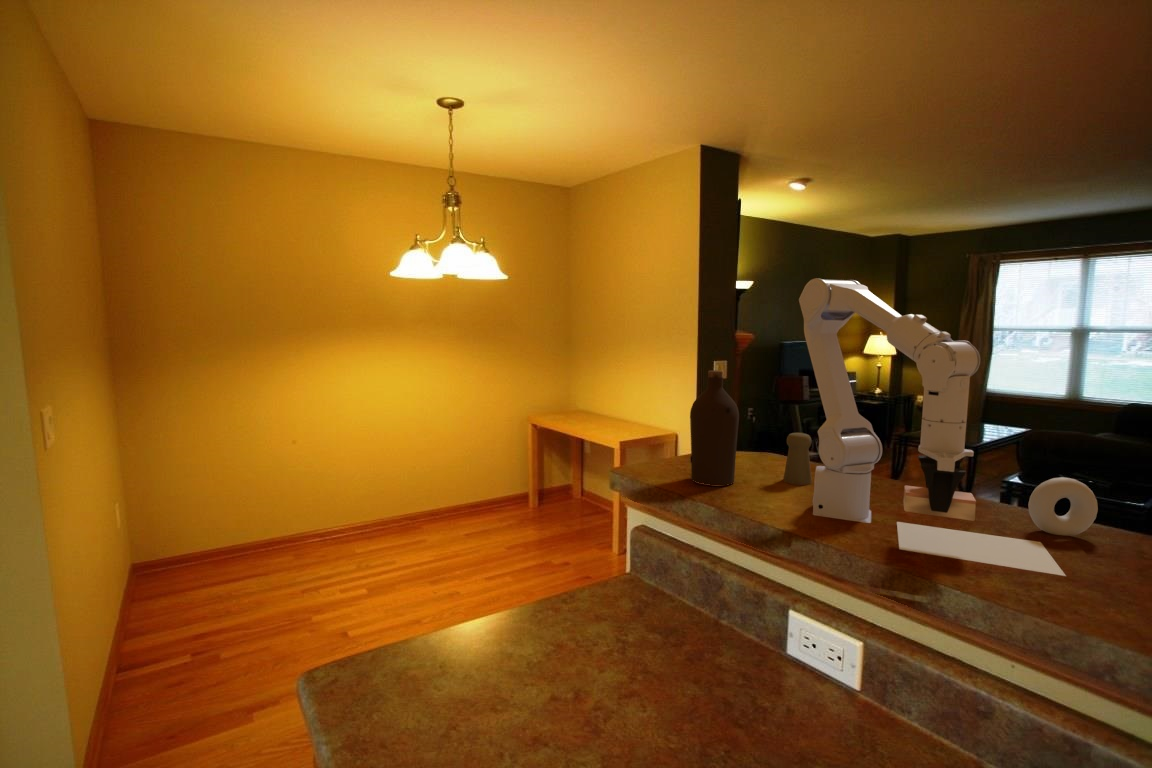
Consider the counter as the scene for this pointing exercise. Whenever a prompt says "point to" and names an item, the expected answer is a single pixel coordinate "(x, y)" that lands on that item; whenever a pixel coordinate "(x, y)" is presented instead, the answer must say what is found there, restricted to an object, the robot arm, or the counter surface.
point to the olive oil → (714, 434)
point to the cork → (798, 459)
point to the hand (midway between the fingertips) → (937, 506)
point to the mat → (977, 547)
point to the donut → (1078, 514)
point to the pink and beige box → (919, 503)
